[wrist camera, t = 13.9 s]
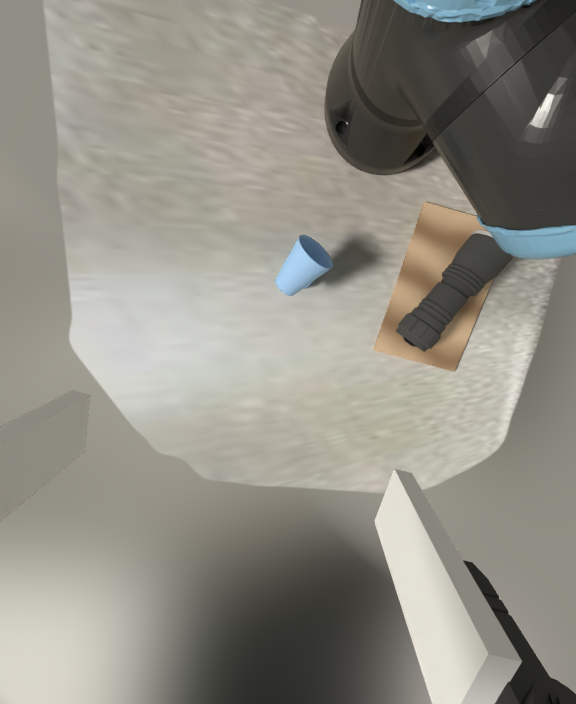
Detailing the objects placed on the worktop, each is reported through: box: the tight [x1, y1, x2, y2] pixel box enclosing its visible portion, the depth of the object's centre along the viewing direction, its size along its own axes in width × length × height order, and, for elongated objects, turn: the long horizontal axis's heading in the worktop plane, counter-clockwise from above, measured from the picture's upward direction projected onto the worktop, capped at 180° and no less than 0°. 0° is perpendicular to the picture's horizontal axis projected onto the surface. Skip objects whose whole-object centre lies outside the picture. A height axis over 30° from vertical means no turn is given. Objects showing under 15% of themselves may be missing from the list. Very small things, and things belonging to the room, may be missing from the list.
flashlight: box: [396, 230, 514, 352], centre depth 39 cm, size 15×5×5 cm, turn 144°
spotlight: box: [275, 235, 333, 296], centre depth 37 cm, size 5×10×7 cm
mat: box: [374, 202, 493, 372], centre depth 42 cm, size 20×12×1 cm, turn 165°
